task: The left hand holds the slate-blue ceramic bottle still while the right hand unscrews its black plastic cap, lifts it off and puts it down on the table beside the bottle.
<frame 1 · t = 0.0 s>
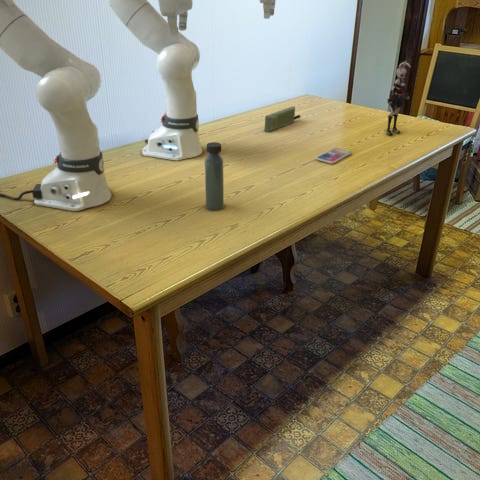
left hand: (178, 32, 128), 48 cm above the table, tool pointing down, fingers open, 8 cm apart
right hand: (268, 16, 163), 48 cm above the table, tool pointing down, fingers open, 8 cm apart
smartphone: (333, 157, 188), on the table
handheld radio: (283, 125, 223), on the table
figurine: (391, 133, 215), on the table
cap: (213, 145, 141), point 19 cm above the table, screwed on, not yet turned
bottle: (214, 206, 150), on the table
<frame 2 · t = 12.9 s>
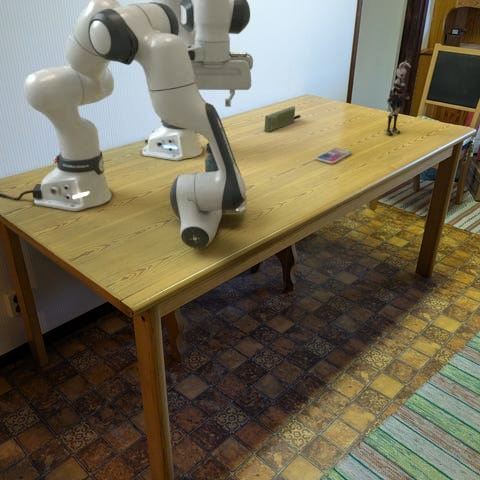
left hand: (214, 189, 149), 5 cm above the table, tool horizontal, fingers closed on bottle, 5 cm apart
right hand: (213, 106, 136), 30 cm above the table, tool pointing down, fingers open, 6 cm apart
bottle: (214, 206, 150), on the table, touching left hand
everything else where it was.
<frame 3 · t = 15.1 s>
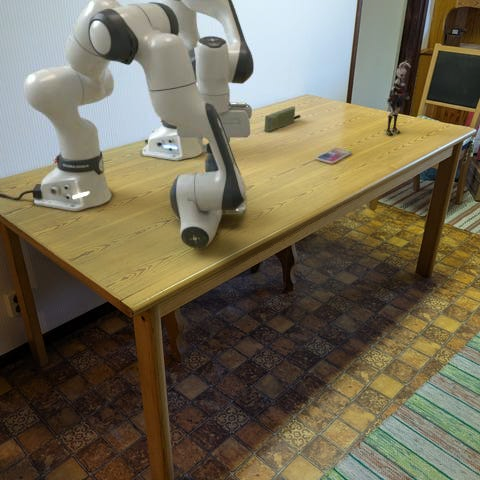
left hand: (214, 189, 149), 5 cm above the table, tool horizontal, fingers closed on bottle, 5 cm apart
right hand: (213, 152, 142), 17 cm above the table, tool pointing down, fingers closed on cap, 4 cm apart
cap: (213, 145, 141), point 19 cm above the table, screwed on, not yet turned, touching right hand
bottle: (214, 206, 150), on the table, touching left hand
everything else where it was.
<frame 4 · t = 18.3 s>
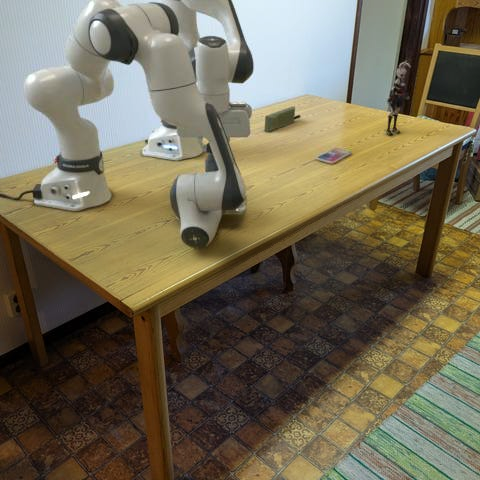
left hand: (214, 189, 149), 5 cm above the table, tool horizontal, fingers closed on bottle, 5 cm apart
right hand: (213, 151, 142), 17 cm above the table, tool pointing down, fingers closed on cap, 4 cm apart
cap: (213, 145, 141), point 19 cm above the table, turned 77° so far, risen 0.1 cm, still on its thread, touching right hand
bottle: (214, 206, 150), on the table, touching left hand
everything else where it was.
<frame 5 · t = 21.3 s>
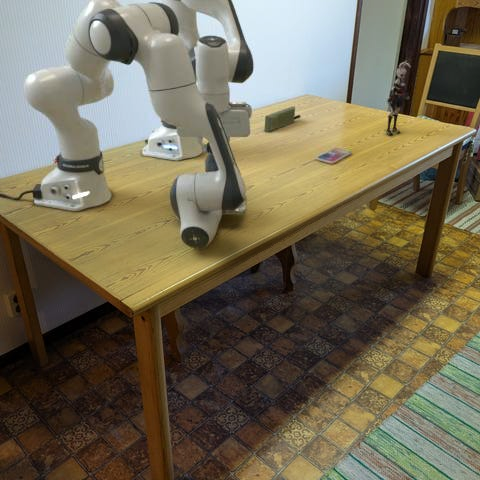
left hand: (214, 189, 149), 5 cm above the table, tool horizontal, fingers closed on bottle, 5 cm apart
right hand: (213, 151, 142), 17 cm above the table, tool pointing down, fingers closed on cap, 4 cm apart
cap: (213, 145, 141), point 19 cm above the table, turned 153° so far, risen 0.2 cm, still on its thread, touching right hand
bottle: (214, 206, 150), on the table, touching left hand
everything else where it was.
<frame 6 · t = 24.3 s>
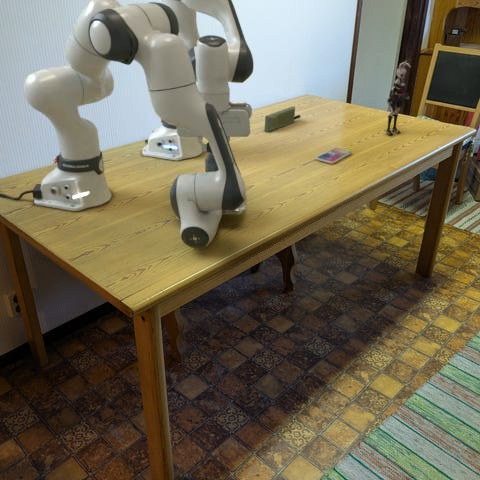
left hand: (214, 189, 149), 5 cm above the table, tool horizontal, fingers closed on bottle, 5 cm apart
right hand: (213, 151, 142), 17 cm above the table, tool pointing down, fingers closed on cap, 4 cm apart
cap: (213, 144, 141), point 19 cm above the table, turned 230° so far, risen 0.2 cm, still on its thread, touching right hand
bottle: (214, 206, 150), on the table, touching left hand
everything else where it was.
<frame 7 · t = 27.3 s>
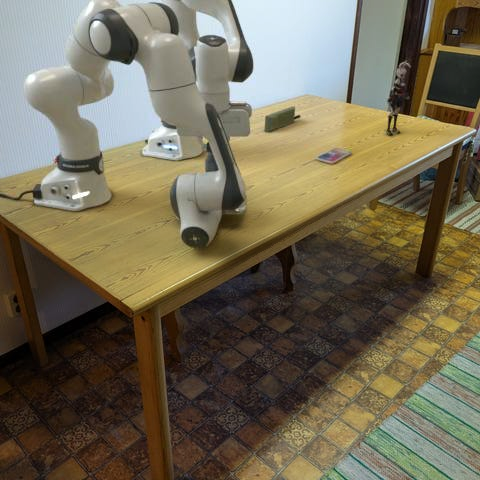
left hand: (214, 189, 149), 5 cm above the table, tool horizontal, fingers closed on bottle, 5 cm apart
right hand: (213, 151, 142), 17 cm above the table, tool pointing down, fingers closed on cap, 4 cm apart
cap: (213, 144, 141), point 19 cm above the table, turned 306° so far, risen 0.3 cm, still on its thread, touching right hand
bottle: (214, 206, 150), on the table, touching left hand
everything else where it was.
when the right hand's fingers open (2 cm above the table, at t = 37.3 s): cap drops 2 cm, point 2 cm above the table.
when the left hand's fingers open (5 cm above the table, at t = 38.5 s): bottle stays where it is, on the table.
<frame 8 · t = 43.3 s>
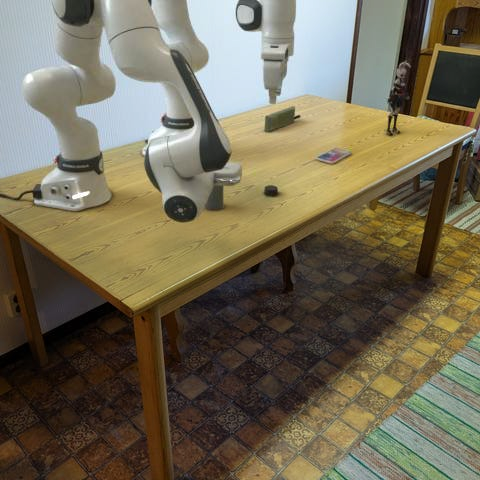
left hand: (206, 160, 131), 19 cm above the table, tool horizontal, fingers open, 8 cm apart
right hand: (275, 99, 144), 30 cm above the table, tool pointing down, fingers open, 8 cm apart
cap: (271, 188, 158), point 2 cm above the table, off its thread
bottle: (214, 206, 150), on the table
everything else where it was.
at the end: cap came off its thread; cap point 1.7 cm above the table; the left hand is holding nothing; the right hand is holding nothing; bottle tilted 0°; bottle moved 0.0 cm from its start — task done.
